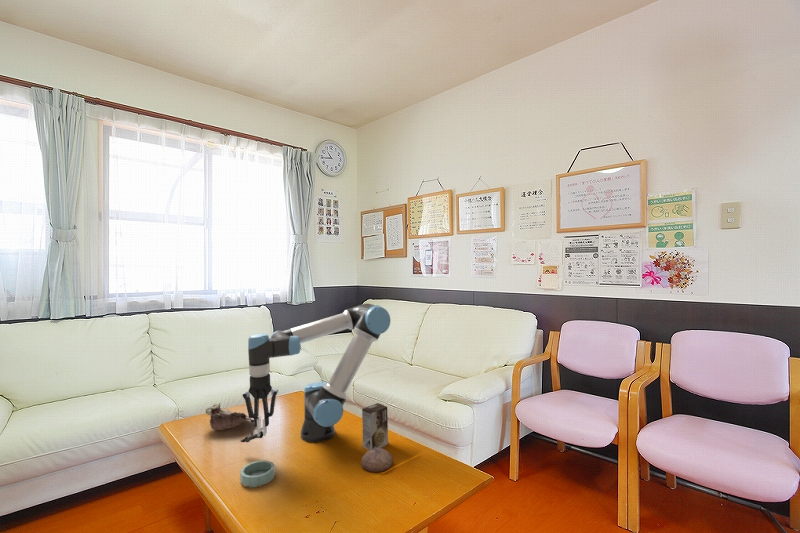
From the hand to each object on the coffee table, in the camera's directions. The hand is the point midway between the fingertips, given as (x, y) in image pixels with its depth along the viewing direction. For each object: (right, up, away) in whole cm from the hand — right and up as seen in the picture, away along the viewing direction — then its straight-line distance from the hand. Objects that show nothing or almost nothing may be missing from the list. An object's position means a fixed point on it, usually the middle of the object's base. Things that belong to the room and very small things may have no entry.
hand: (262, 434), depth 149 cm
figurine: (+1, 0, +2) cm, 2 cm away
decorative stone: (+47, -11, -8) cm, 49 cm away
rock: (-28, -11, +32) cm, 43 cm away
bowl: (+3, -10, -13) cm, 17 cm away
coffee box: (+43, -10, +11) cm, 46 cm away
